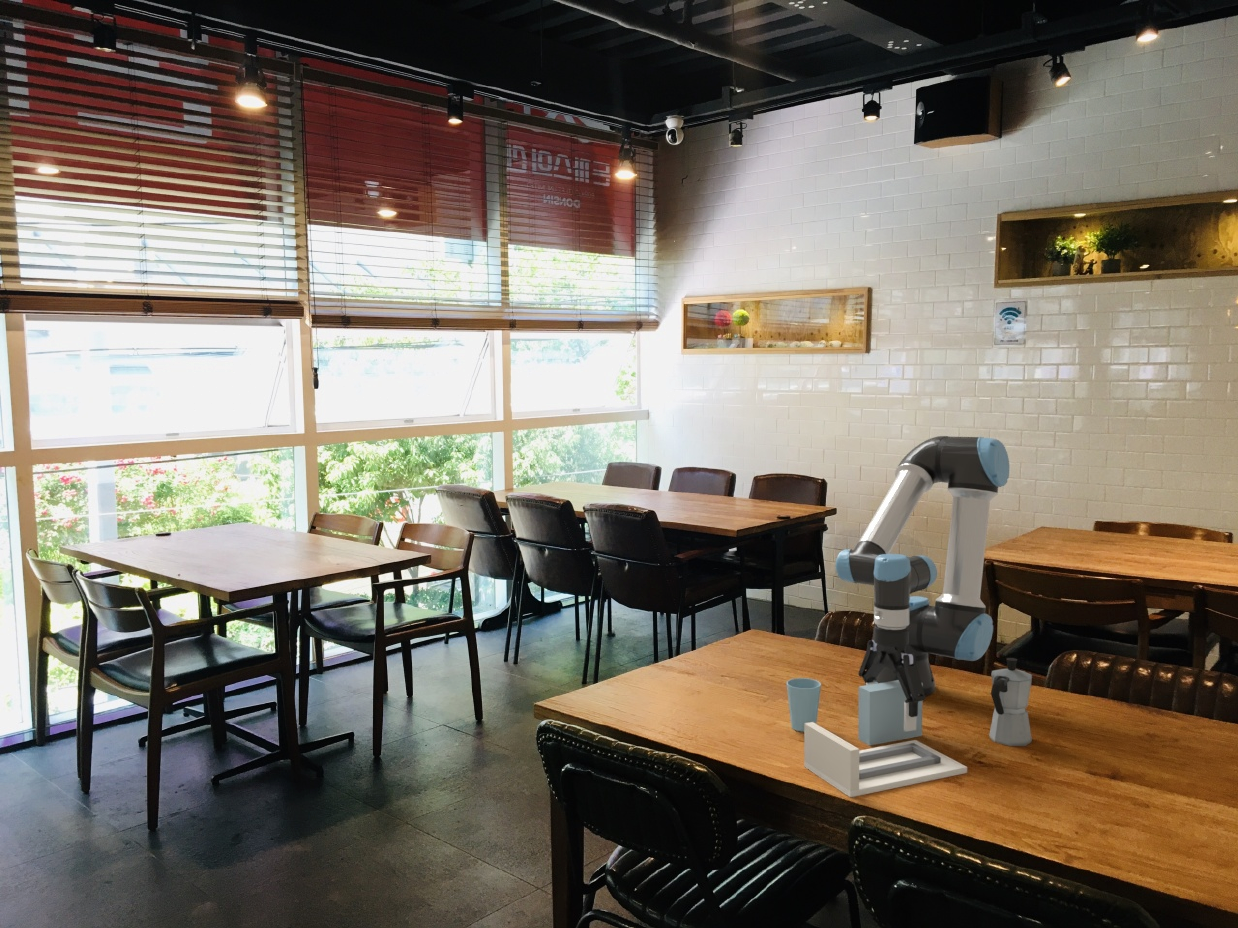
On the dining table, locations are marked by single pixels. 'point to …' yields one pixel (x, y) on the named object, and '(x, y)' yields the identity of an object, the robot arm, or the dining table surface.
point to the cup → (803, 701)
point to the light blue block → (884, 714)
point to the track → (872, 763)
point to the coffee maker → (1010, 705)
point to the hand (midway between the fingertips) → (890, 720)
